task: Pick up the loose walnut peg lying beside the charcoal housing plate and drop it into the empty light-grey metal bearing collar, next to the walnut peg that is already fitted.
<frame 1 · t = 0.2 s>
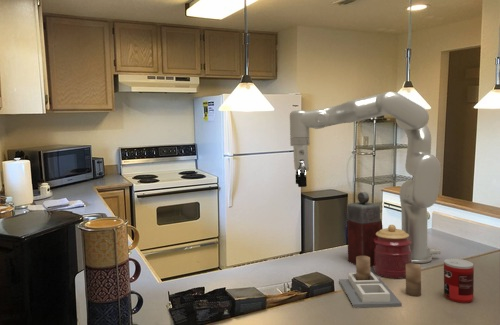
hand: (300, 185, 155), 31 cm above the worktop, tool pointing down, fingers open, 9 cm apart
canister: (392, 273, 142), on the worktop
housing: (367, 293, 124), on the worktop
loose peg: (413, 293, 123), on the worktop
red square jar: (366, 262, 154), on the worktop
canned food: (458, 298, 118), on the worktop
fitted peg: (363, 284, 129), point 1 cm above the worktop, touching housing
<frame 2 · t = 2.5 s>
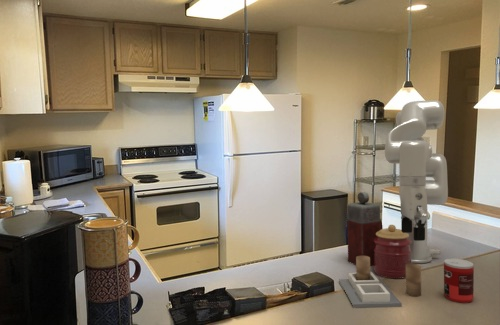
hand: (412, 236, 121), 18 cm above the worktop, tool pointing down, fingers open, 9 cm apart
nothing on the worktop moved.
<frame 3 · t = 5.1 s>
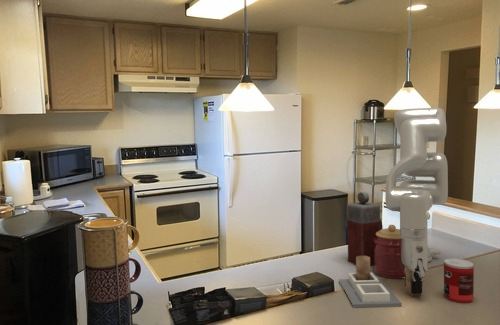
hand: (413, 289, 123), 1 cm above the worktop, tool pointing down, fingers closed on loose peg, 4 cm apart
loose peg: (413, 293, 123), on the worktop, touching gripper
everything else where it was.
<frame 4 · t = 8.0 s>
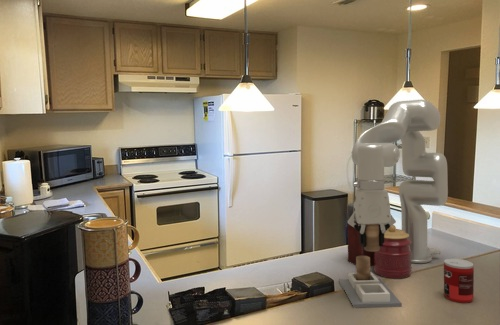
hand: (371, 245, 118), 17 cm above the worktop, tool pointing down, fingers closed on loose peg, 4 cm apart
loose peg: (371, 249, 118), point 16 cm above the worktop, touching gripper
everything else where it was.
when the fingers open (4 cm above the worktop, at t = 11.1 s): loose peg drops 1 cm, resting on housing.
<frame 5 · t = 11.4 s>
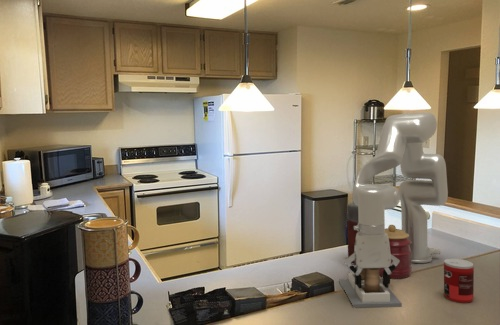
hand: (372, 286, 119), 4 cm above the worktop, tool pointing down, fingers open, 7 cm apart
loose peg: (372, 296, 119), point 1 cm above the worktop, touching housing
everything else where it was.
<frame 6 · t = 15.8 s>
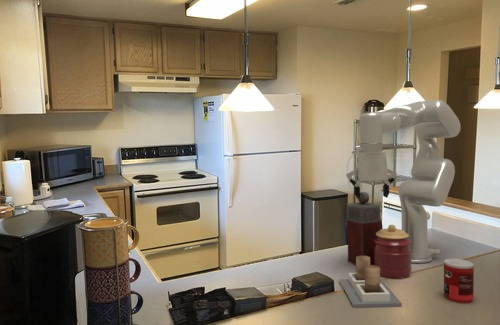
hand: (371, 197, 137), 28 cm above the worktop, tool pointing down, fingers open, 9 cm apart
nothing on the worktop moved.
at the end: loose peg 0.1 cm from the target spot on the housing, point 1.1 cm above the housing's base; loose peg tilted 2°; the gripper is holding nothing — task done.
